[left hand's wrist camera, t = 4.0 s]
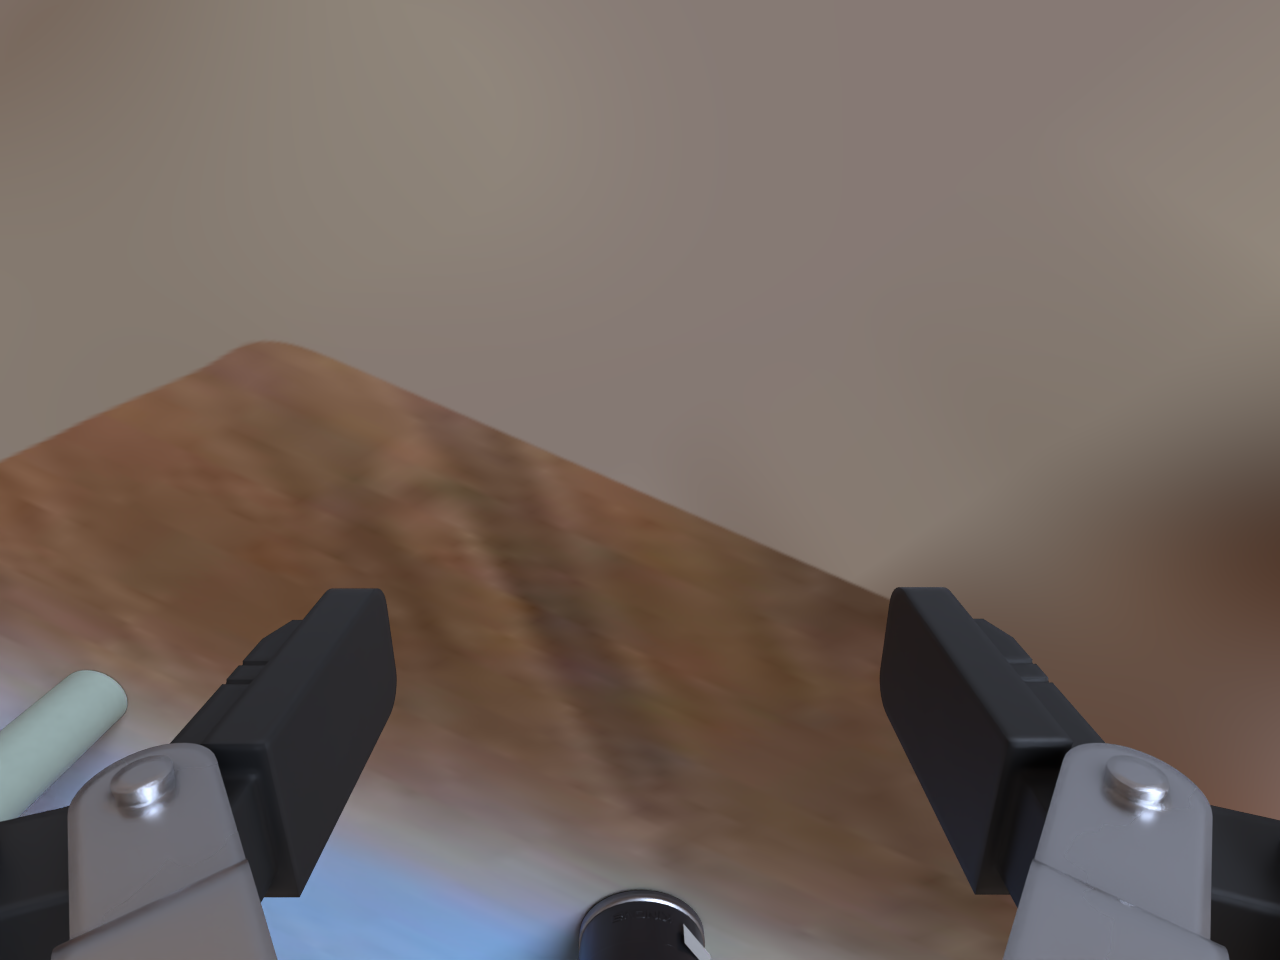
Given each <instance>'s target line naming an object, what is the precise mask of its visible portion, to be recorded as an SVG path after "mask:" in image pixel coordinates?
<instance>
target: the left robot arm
mask: <svg viewBox="0 0 1280 960" xmlns="http://www.w3.org/2000/svg"><path fill="white" fill-rule="evenodd" d="M396 682H397V679H396V667H395V660H394V653H393V646H392V639H391V632H390V625H389V618H388V611H387V604H386V599H385V596H384V594H383V592H382V591H381V590H380V589H329V590H327V591H326V592H325V594H324V595H323V596H322V597H321V598H320V600H319V601H318V602H317V603H316V604H315V606H314V607H313V608H312V609H311V611H310V612H309V613H308V614H307V615H306V617H305V618H304V619H303V620H292V621H290V622H289V623H287V624H286V625H284V626H282V627H281V628H279V629H278V630H276V631H274V632H273V633H271V634H270V635H268V636H266V637H265V638H263V639H262V640H261V641H260V642H259V643H258V644H257V646H256V647H255V648H254V649H253V650H252V651H251V652H250V654H249V655H248V656H247V657H246V658H245V659H244V660H243V665H239V666H238V667H237V668H236V669H235V671H234V672H233V673H232V674H231V675H230V676H229V677H228V678H227V682H226V684H222V685H221V686H220V687H219V689H218V690H217V691H216V692H215V693H214V694H213V695H212V697H211V698H210V699H209V700H208V701H207V702H206V703H205V704H204V706H203V707H202V708H201V709H200V710H199V711H198V712H197V714H196V715H195V716H194V717H193V718H192V719H191V720H190V721H189V723H188V724H187V725H186V726H185V727H184V728H183V729H182V730H181V732H180V733H179V734H178V735H177V736H176V737H175V738H174V740H173V741H172V742H171V743H170V744H165V745H160V746H156V747H152V748H148V749H145V750H142V751H139V752H137V753H134V754H132V755H129V756H127V757H125V758H123V759H121V760H119V761H117V762H115V763H113V764H112V765H110V766H108V767H107V768H105V769H104V770H102V771H101V772H99V773H98V774H96V775H95V776H94V777H93V778H92V779H90V780H89V781H88V782H87V783H86V784H85V785H84V786H83V787H82V788H81V789H80V790H79V791H78V792H77V794H76V795H75V797H74V798H73V800H72V802H71V804H70V806H67V807H63V808H59V809H55V810H50V811H46V812H41V813H37V814H32V815H28V816H23V817H19V818H14V819H10V820H5V821H1V822H0V960H277V957H276V953H275V950H274V947H273V943H272V940H271V936H270V933H269V930H268V926H267V923H266V919H265V916H264V913H263V909H262V906H261V901H262V900H263V898H264V897H300V895H301V893H302V891H303V889H304V887H305V885H306V883H307V881H308V879H309V877H310V875H311V873H312V871H313V869H314V867H315V865H316V863H317V861H318V859H319V857H320V855H321V853H322V851H323V849H324V847H325V845H326V843H327V841H328V839H329V837H330V835H331V833H332V831H333V829H334V827H335V825H336V823H337V821H338V819H339V817H340V815H341V813H342V811H343V809H344V807H345V805H346V803H347V801H348V799H349V797H350V795H351V793H352V791H353V789H354V787H355V785H356V783H357V781H358V779H359V776H360V774H361V772H362V770H363V768H364V766H365V764H366V762H367V760H368V758H369V756H370V754H371V752H372V750H373V748H374V746H375V744H376V742H377V740H378V738H379V736H380V734H381V732H382V730H383V728H384V726H385V724H386V722H387V720H388V718H389V716H390V714H391V711H392V708H393V705H394V700H395V695H396ZM880 691H881V697H882V702H883V706H884V709H885V712H886V714H887V716H888V718H889V720H890V722H891V724H892V726H893V728H894V730H895V732H896V735H897V737H898V739H899V741H900V743H901V745H902V747H903V749H904V751H905V753H906V755H907V757H908V759H909V761H910V763H911V765H912V767H913V769H914V771H915V773H916V775H917V777H918V779H919V781H920V783H921V785H922V788H923V790H924V792H925V794H926V796H927V798H928V800H929V802H930V804H931V806H932V808H933V810H934V812H935V814H936V816H937V818H938V820H939V822H940V824H941V826H942V828H943V830H944V832H945V834H946V836H947V838H948V841H949V843H950V845H951V847H952V849H953V851H954V853H955V855H956V857H957V859H958V861H959V863H960V865H961V867H962V869H963V871H964V873H965V875H966V877H967V879H968V881H969V883H970V885H971V887H972V889H973V891H974V894H1010V895H1011V897H1012V899H1013V900H1014V902H1015V904H1016V906H1017V908H1018V909H1017V913H1016V916H1015V919H1014V923H1013V926H1012V930H1011V933H1010V936H1009V940H1008V943H1007V947H1006V950H1005V953H1004V957H1003V960H1280V820H1275V819H1271V818H1266V817H1262V816H1257V815H1253V814H1248V813H1244V812H1239V811H1234V810H1230V809H1226V808H1221V807H1216V806H1212V805H1210V804H1209V802H1208V800H1207V798H1206V797H1205V795H1204V794H1203V792H1202V791H1201V790H1200V789H1199V788H1198V787H1197V786H1196V785H1195V784H1194V783H1193V782H1192V781H1191V780H1190V779H1188V778H1187V777H1186V776H1185V775H1183V774H1182V773H1181V772H1179V771H1178V770H1176V769H1175V768H1173V767H1172V766H1170V765H1168V764H1167V763H1165V762H1163V761H1161V760H1159V759H1157V758H1155V757H1153V756H1151V755H1148V754H1146V753H1143V752H1141V751H1138V750H1135V749H1131V748H1128V747H1124V746H1120V745H1115V744H1108V743H1105V742H1104V741H1103V740H1102V739H1101V737H1100V736H1099V735H1098V734H1097V733H1096V732H1095V731H1094V729H1093V728H1092V727H1091V726H1090V725H1089V724H1088V723H1087V722H1086V720H1085V719H1084V718H1083V717H1082V716H1081V715H1080V714H1079V712H1078V711H1077V710H1076V709H1075V708H1074V707H1073V706H1072V704H1071V703H1070V702H1069V701H1068V700H1067V699H1066V698H1065V696H1064V695H1063V694H1062V693H1061V692H1060V691H1059V690H1058V688H1057V687H1056V686H1055V685H1054V684H1053V683H1049V681H1048V677H1047V676H1046V675H1045V674H1044V672H1043V671H1042V670H1041V669H1040V668H1039V667H1038V666H1037V664H1033V663H1032V659H1031V658H1030V656H1029V655H1028V654H1027V653H1026V652H1025V651H1024V650H1023V648H1022V647H1021V646H1020V645H1019V644H1018V643H1017V642H1016V640H1015V639H1014V638H1013V637H1011V636H1010V635H1008V634H1006V633H1005V632H1003V631H1002V630H1000V629H999V628H997V627H995V626H994V625H992V624H990V623H989V622H987V621H986V620H984V619H973V618H972V617H971V616H970V615H969V613H968V612H967V611H966V610H965V609H964V607H963V606H962V605H961V604H960V603H959V601H958V600H957V599H956V598H955V596H954V595H953V594H952V593H951V591H950V590H948V589H947V588H944V587H898V588H896V589H895V590H894V591H893V593H892V595H891V599H890V604H889V611H888V618H887V625H886V632H885V640H884V647H883V654H882V661H881V668H880ZM579 960H711V955H710V954H709V953H708V952H707V951H706V949H705V940H704V930H703V925H702V922H701V920H700V918H699V917H698V915H697V914H696V912H695V911H694V910H693V909H692V908H691V907H690V906H689V905H687V904H686V903H685V902H683V901H681V900H680V899H678V898H676V897H673V896H671V895H668V894H665V893H661V892H656V891H648V890H635V891H627V892H622V893H619V894H615V895H613V896H610V897H608V898H606V899H604V900H602V901H601V902H599V903H598V904H596V905H595V906H594V907H593V908H592V909H591V910H590V911H589V912H588V913H587V914H586V916H585V918H584V919H583V922H582V924H581V927H580V935H579Z"/></svg>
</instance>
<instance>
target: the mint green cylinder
mask: <svg viewBox="0 0 1280 960" xmlns="http://www.w3.org/2000/svg"><path fill="white" fill-rule="evenodd" d="M126 709H127V697H126V694H125V692H124V690H123V689H122V687H121V686H120V685H119V684H118V683H117V682H116V681H115V680H114V679H112V678H111V677H109V676H107V675H105V674H103V673H100V672H97V671H92V670H81V671H77V672H74V673H72V674H70V675H69V676H67V677H66V678H65V679H64V680H62V681H61V682H60V683H59V684H58V685H56V686H55V687H54V688H53V689H51V690H50V691H49V692H48V693H46V694H45V695H44V696H43V697H42V698H40V699H39V700H38V701H37V702H35V703H34V704H33V705H32V706H30V707H29V708H28V709H27V710H26V711H24V712H23V713H22V714H21V715H19V716H18V717H17V718H16V719H14V720H13V721H12V722H11V723H10V724H8V725H7V726H6V727H5V728H3V729H2V730H1V731H0V822H1V821H5V820H10V819H14V818H18V817H19V816H20V815H21V814H22V813H23V812H24V811H25V810H26V809H27V808H28V807H29V806H30V805H32V804H33V803H34V802H35V801H36V800H37V799H38V798H39V797H40V796H41V795H42V794H43V793H44V792H45V791H46V790H47V789H48V788H49V787H50V786H51V785H52V784H53V783H54V782H55V781H56V780H57V779H58V778H59V777H60V776H61V775H62V774H63V773H64V772H65V771H66V770H67V769H68V768H69V767H70V766H72V765H73V764H74V763H75V762H76V761H77V760H78V759H79V758H80V757H81V756H82V755H83V754H84V753H85V752H86V751H87V750H88V749H89V748H90V747H91V746H92V745H93V744H94V743H95V742H96V741H97V740H98V739H99V738H100V737H101V736H102V735H103V734H104V733H105V732H106V731H107V730H108V729H109V728H110V727H112V726H113V725H114V724H115V723H116V722H117V721H118V720H119V719H120V718H121V717H122V716H123V715H124V713H125V711H126Z"/></svg>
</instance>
